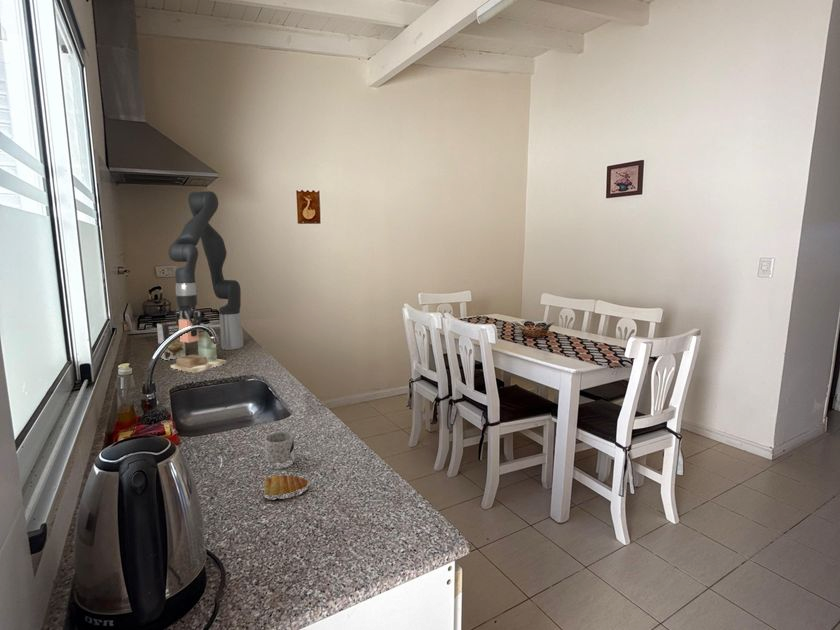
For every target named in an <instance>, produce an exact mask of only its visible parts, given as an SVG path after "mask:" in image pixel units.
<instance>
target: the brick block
mask: <svg viewBox="0 0 840 630" xmlns="http://www.w3.org/2000/svg"><path fill="white" fill-rule="evenodd" d="M179 319H180V318H179ZM193 322H194V321H192V323H193ZM197 323H198V320H197ZM188 326H190V322H189V320H187V319H182V320H181V319H180V320H179V330H180V329H182V328H185V327H188ZM199 333H200V332H199V329H198V330H197V335H196V336H191V331H190V332H188V333H185V334H183V335H182V336H180V341H181V342H185V343H187V344H189V343H193V342H198V341H199Z"/></svg>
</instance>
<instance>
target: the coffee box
mask: <svg viewBox="0 0 840 630" xmlns="http://www.w3.org/2000/svg"><path fill="white" fill-rule="evenodd" d="M156 328H157V342H158V343H157V345H158V347H159V345H160V344H161V343H162V342H163V341H164V340H165V339H166V338H167V337H169V336H170V335H171V334H173V333H174V332H176V331H178V330H179V324H177V322H176V320H175V321H166V322H159V323H158V322H157V323H156ZM186 354H187V353H186V342H181V341H180V337H179V338H177V339H176V340H174V341H173V342H172V343H171V344H170V345H169V346H168V348H167V349H166V350H165V352H164V353H163V354H162V356H161V358H162V359H164V360H163V361H165V360H168V361H171V360H170V359H173V360H176V358H181V357H185V356H187V355H186ZM162 359H161V360H162Z"/></svg>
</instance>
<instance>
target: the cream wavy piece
mask: <svg viewBox="0 0 840 630" xmlns="http://www.w3.org/2000/svg"><path fill="white" fill-rule="evenodd" d="M198 333H199V341H197V354H189V355H186V356H185V357H181V358H177V359H175V363H174V364H170V369H171V368H173V369H172V370H175V369H178V370H177V371H181V370H182V372H186V371H187V373H191V372H192V374H196V373H200V372H203V371H206V370H210V369H213V367H214V368H217V367H219V366H220V367H221V366H223V364H224V365H226V364H227V360H225V359H220V358H217V357H218V356H217V343H216V344H214V343H213V342H212V341H211V339H210V336H209V334H208V333H207V332H206V331H201V332H198ZM216 366H217V367H216Z"/></svg>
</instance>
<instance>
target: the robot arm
mask: <svg viewBox="0 0 840 630" xmlns="http://www.w3.org/2000/svg"><path fill="white" fill-rule="evenodd" d="M187 200H188V204H189V205H188V206H189V209H190V212H191V215H192V218H190V219H189V220H188V221H187V223H185V224H184V226H183V229H182V231H181V233H180V235H179V236H178V237H177V238H176V239H175V240H174V241H172V243H171V244H170V245H169V247H168V257H169V258H170V260H171V261H172V262H177V263H181V262H182V263H184V262H185V263H186V264H185V266H183V267H178V268H176V269H175V272H174V273H175V274H174V275H175V277H174V278H175V298H176V306H177V307H179V308H177V309H174V310H173V312H174V317H175V321H176V322H177V324H179V320H180V319H181V320H182V319H187V320H189V322H190V326H192V325H198V326H200V325H201V323H202V322H201V321H202V315H203V313H202V311H201V310H200V311H198V310H197V308H196V306H197V305H198V294H197V286H196V268H197V267H196V266H197V262H198V257H199V251H198V248H197V245H198V243H199V241H200V240H201V244H202V249H203V252H204V255H205V258H206V260H207V264H208V265H207V266H208V270H209V273H210V278H211V284H212V289H213V293H214V295H215V297H216V298H217V299H220V300H227V303H226V304H225V305H224V306H221V307H219V309H218V313H219V314H218V315H219V326H220V342H221V343H220V345H221V350H224V349H225V351H226V350H227V351H231V350H234V351H235V350H239V349H241V348H244V335H243V333H244V332H243V327H241V306H242V305H241V303H242V302H241V294H242V293H241V285H240V283H239V282H238V281H237V280H233V279H225V278H224V275H223V267H224V264H225V262H226V258H227V252H228V251H227V248H226V246H225V245H226V244H225V241H224V239H223V237H222V236H221V235H220V233H219V232H218V231H217V230H215V228H214V227H213V226H212V225H211V224H210V223H209V222H210V221H211V220H212V218H213V216H214V215H215V213H216V212H217V210H218V209H219V199H218V196H217V194H216V193H215V192H213V191H210V190H206V191H192V192H190V193H189V194H188V198H187ZM197 320H198V323H197ZM192 321H194V322H193V323H192ZM196 335H197V330H193V331H191V336H196Z"/></svg>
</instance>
